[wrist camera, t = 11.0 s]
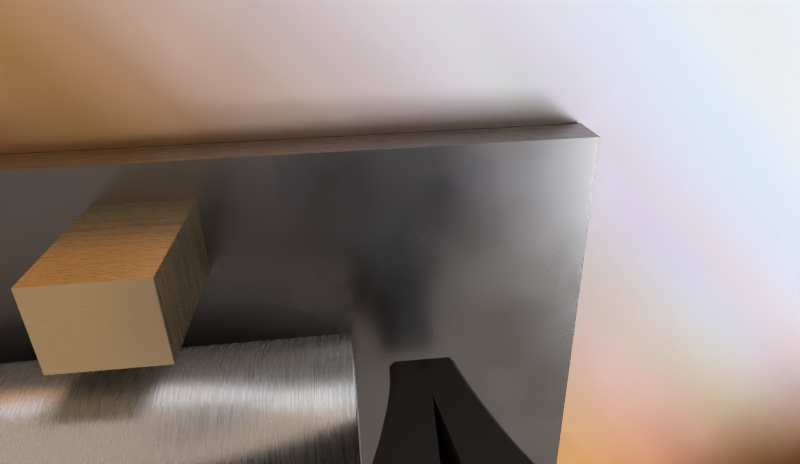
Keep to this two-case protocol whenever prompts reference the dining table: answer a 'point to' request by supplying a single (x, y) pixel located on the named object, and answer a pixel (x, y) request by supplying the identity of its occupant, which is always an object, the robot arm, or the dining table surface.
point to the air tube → (190, 408)
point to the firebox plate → (311, 258)
